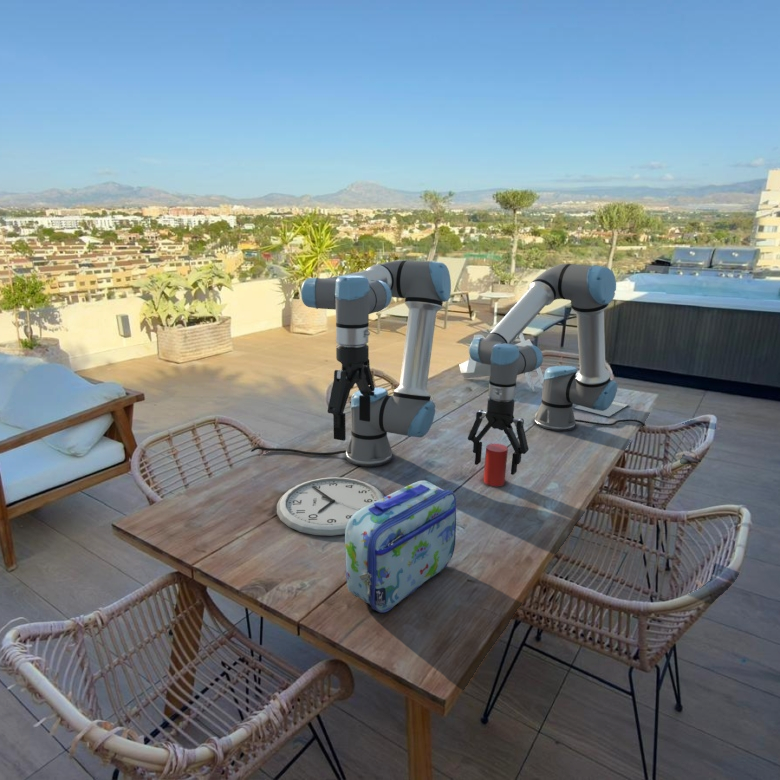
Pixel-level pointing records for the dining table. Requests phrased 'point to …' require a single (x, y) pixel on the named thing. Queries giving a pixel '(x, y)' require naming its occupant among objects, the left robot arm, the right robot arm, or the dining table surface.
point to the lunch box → (399, 543)
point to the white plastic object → (480, 370)
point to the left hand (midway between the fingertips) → (352, 429)
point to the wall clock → (325, 504)
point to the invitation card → (608, 412)
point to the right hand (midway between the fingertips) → (495, 467)
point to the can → (495, 464)
